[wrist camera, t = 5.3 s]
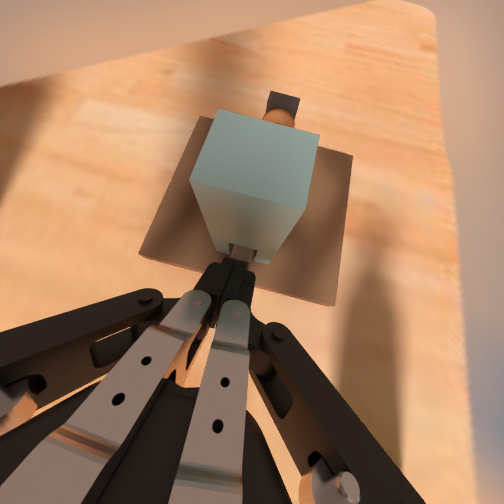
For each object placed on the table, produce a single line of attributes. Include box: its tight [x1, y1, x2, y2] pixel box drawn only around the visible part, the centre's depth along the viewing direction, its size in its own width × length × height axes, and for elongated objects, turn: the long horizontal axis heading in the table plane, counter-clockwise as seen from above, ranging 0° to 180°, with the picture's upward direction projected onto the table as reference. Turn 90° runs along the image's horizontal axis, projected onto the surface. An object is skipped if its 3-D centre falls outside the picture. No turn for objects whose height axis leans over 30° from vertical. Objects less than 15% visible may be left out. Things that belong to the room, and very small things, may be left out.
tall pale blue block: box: [189, 109, 320, 265], centre depth 13 cm, size 5×4×10 cm
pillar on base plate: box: [138, 91, 353, 306], centre depth 18 cm, size 18×17×6 cm
